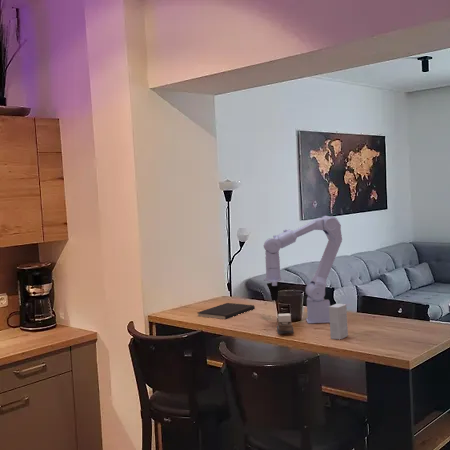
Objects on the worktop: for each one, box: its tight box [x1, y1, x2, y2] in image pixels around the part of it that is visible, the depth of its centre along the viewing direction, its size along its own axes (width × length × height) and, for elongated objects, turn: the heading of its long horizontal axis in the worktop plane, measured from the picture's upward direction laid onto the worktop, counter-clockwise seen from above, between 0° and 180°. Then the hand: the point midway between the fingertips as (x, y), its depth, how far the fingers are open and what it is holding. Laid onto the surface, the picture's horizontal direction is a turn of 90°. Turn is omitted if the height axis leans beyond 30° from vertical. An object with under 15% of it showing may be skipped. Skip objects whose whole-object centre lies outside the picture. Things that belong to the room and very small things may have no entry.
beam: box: [276, 317, 294, 335], centre depth 227 cm, size 6×14×4 cm, turn 178°
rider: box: [277, 312, 292, 324], centre depth 226 cm, size 5×4×3 cm
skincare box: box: [329, 303, 349, 341], centre depth 213 cm, size 6×4×12 cm
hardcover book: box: [196, 302, 256, 320], centre depth 267 cm, size 16×23×2 cm
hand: (274, 300), depth 239 cm, fingers closed
